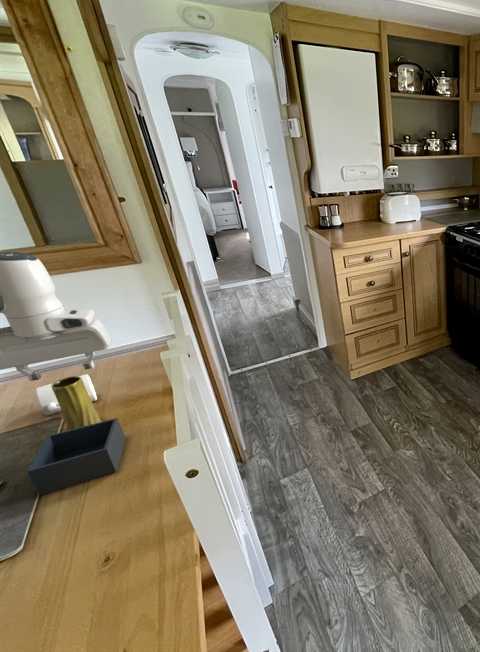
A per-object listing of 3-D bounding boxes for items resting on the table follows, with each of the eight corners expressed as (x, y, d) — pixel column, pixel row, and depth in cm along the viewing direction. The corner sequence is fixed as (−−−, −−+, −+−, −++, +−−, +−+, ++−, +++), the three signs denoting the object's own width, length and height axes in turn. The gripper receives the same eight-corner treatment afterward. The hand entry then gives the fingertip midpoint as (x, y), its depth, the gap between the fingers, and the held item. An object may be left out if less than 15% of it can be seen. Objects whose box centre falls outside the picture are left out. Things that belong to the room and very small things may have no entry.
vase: (65, 439, 93) (42, 391, 88) (76, 424, 99) (56, 377, 93) (96, 433, 96) (76, 385, 90) (106, 418, 101) (88, 372, 96)
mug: (47, 407, 105) (35, 383, 102) (96, 392, 111) (86, 369, 108) (47, 428, 97) (34, 403, 94) (99, 411, 103) (89, 387, 101)
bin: (39, 495, 78) (26, 471, 76) (58, 457, 88) (47, 435, 85) (116, 471, 85) (106, 449, 82) (125, 439, 94) (117, 417, 92)
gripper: (-36, 338, 78) (-5, 393, 83) (95, 317, 88) (115, 367, 94) (-21, 326, 83) (7, 379, 88) (101, 308, 93) (120, 356, 99)
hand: (63, 373), depth 91 cm, fingers open, 8 cm apart
